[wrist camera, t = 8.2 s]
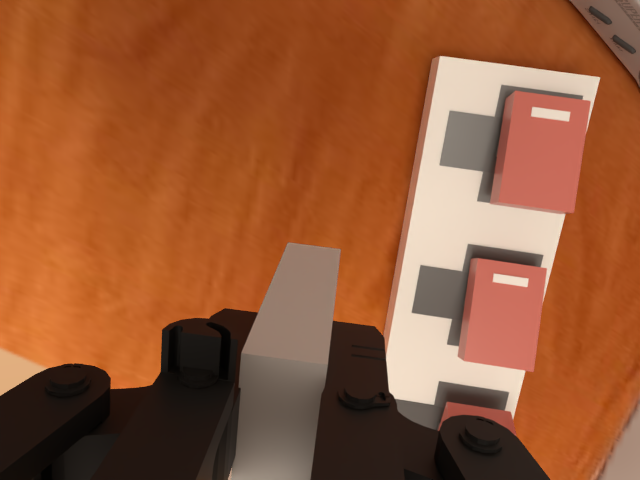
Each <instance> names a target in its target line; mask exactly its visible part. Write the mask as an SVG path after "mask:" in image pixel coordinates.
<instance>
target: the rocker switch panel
mask: <svg viewBox="0 0 640 480" xmlns="http://www.w3.org/2000/svg"><path fill="white" fill-rule="evenodd" d="M599 81H600V77H594V76H587V75H579V74H572V73H564V72H557V71H550V70H542V69H535V68H527V67H520V66H512V65H505V64H497V63H490V62H482V61H475V60H468V59H460V58H453V57H445V56H438V57H436V58H433V59H432V63H431V69H430V74H429V80H428V86H427V91H426V97H425V103H424V108H423V114H422V120H421V125H420V131H419V137H418V142H417V148H416V154H415V159H414V165H413V170H412V176H411V182H410V187H409V193H408V199H407V204H406V210H405V216H404V221H403V227H402V233H401V238H400V244H399V250H398V255H397V261H396V267H395V272H394V278H393V284H392V289H391V295H390V301H389V306H388V312H387V318H386V323H385V329H384V335H383V337H384V339H385V351H386V362H387V373H388V385H389V392H390V393H391V394H392V395H393V396H394V398H395V400H396V403H397V409H398V412H400V413H401V414H402V415H403V416H405V417H406V418H408V419H410V420H411V421H413V422H415V423H418V424H420V425H423V426H425V427H428V428H431V429H434V430H437V431H438V429H439V425H440V422H441V419H442V416H443V412H444V409H445V406H446V403H447V402H453V403H459V404H465V405H472V406H478V407H484V408H491V409H497V410H503V411H510V412H511V414H512V419H513V417H514V414H515V410H516V406H517V402H518V398H519V394H520V390H521V386H522V382H523V378H524V374H525V371H524V370H518V369H511V368H505V367H499V366H492V365H486V364H479V363H473V362H466V361H463V360H462V359H460V358H459V357H457V356H458V349H459V342H460V334H461V327H462V320H463V312H464V305H465V298H466V290H467V283H468V276H469V268H470V261H471V259H474V258H481V259H488V260H494V261H501V262H508V263H515V264H521V265H528V266H535V267H542V268H547V273H546V280H545V288H544V296H545V292H546V288H547V284H548V280H549V276H550V273H551V269H552V265H553V261H554V257H555V253H556V249H557V245H558V241H559V237H560V233H561V229H562V226H563V222H564V218H565V214H556V213H549V212H542V211H535V210H528V209H521V208H514V207H507V206H500V205H493V204H490V199H491V193H492V186H493V179H494V173H495V166H496V159H497V153H498V146H499V140H500V133H501V126H502V120H503V113H504V107H505V100H506V98H507V97H508V96H510V95H511V94H512V93H513V92H514V91H521V92H529V93H536V94H544V95H551V96H558V97H566V98H573V99H580V100H588V101H591V103H590V110H589V116H588V123H587V128H588V124H589V120H590V116H591V112H592V108H593V104H594V100H595V96H596V92H597V88H598V84H599ZM586 132H587V129H586ZM544 296H543V300H544Z"/></svg>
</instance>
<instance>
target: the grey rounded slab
mask: <svg viewBox="0 0 640 480" xmlns="http://www.w3.org/2000/svg"><path fill="white" fill-rule="evenodd" d="M569 1H570V2H571V3H573V5H574V6H575V7H576V8H577V9H578V10H579V12H580V13H581V14H582V15H583V16H584V17H585V19H586V20H587V21H588V22H589V23H590V25H591V26H592V27H593V28H594V29H595V31H596V32H597V33H598V34H599V35H600V37H601V38H602V39H603V40H604V41H605V43H606V44H607V45H608V46H609V48H610V49H611V50H612V51H613V52H614V54H615V55H616V56H617V57H618V58H619V60H620V61H621V62H622V63H623V64H624V66H625V67H626V68H627V69H628V71H629V72H630V73H631V74H632V75H633V77H634V78H635V79H636V81H637V83H638V85H639V87H640V0H569Z"/></svg>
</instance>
